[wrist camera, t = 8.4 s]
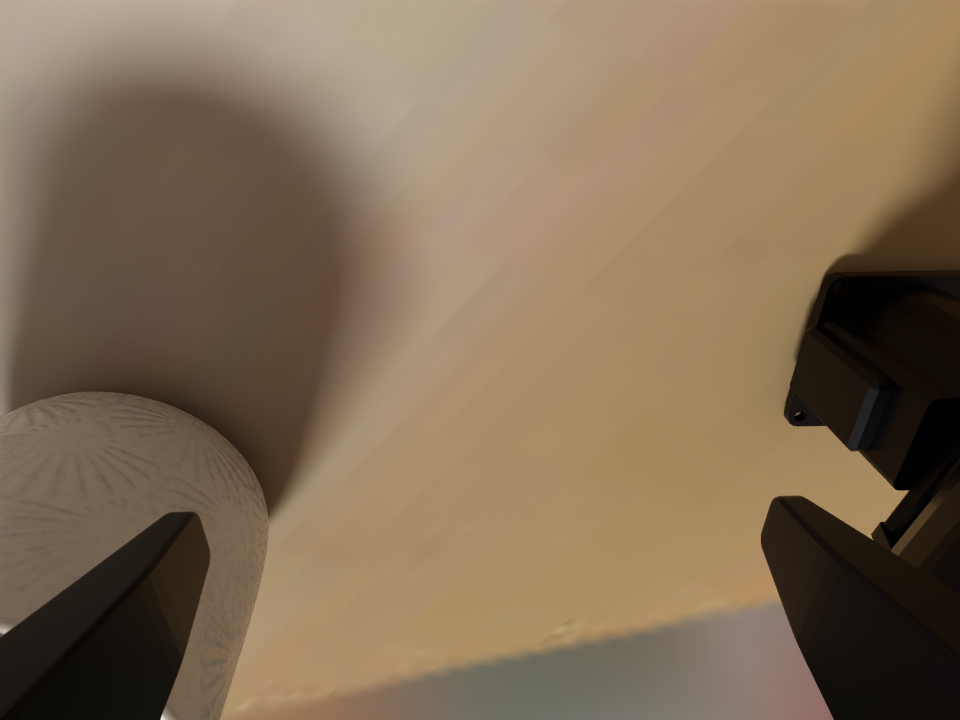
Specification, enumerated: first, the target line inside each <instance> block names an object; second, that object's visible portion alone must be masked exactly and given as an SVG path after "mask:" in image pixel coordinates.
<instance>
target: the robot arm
mask: <svg viewBox="0 0 960 720" xmlns="http://www.w3.org/2000/svg"><path fill="white" fill-rule="evenodd" d="M840 283H842V286H841V288H840V289H839V290H837V291H834V289H835V287H836V286H837V285H838V284H840ZM790 387H791V389H790V392H789V396H788V399H787V402H786V406H785V409H784V416H785V418H786V419H787V421H788V422H789V423H790V424H791V425H793V426H827V427H828V428H829V429H830V430H831V431H832V432H833V433H834V434H835V435H836V437H837V438H838V439H839V440H840V441H841V442H842V443H843V444H844V445H845V446H846V447H847V448H848V449H849V450H850V451H859V452H860V453H861V454H862V455H863V456H864V457H865V459H866V460H867V461H868V462H869V463H870V464H871V465H872V466H873V467H874V468H875V469H876V470H877V471H878V472H879V473H880V474H881V475H882V476H883V477H884V478H885V479H886V480H887V481H888V482H889V483H890V484H891V485H892V486H893V487H894V488H895V490H909V491H908V493H907V494H906V495H905V497H904V498H903V499H902V500H901V502H900V503H899V504H898V506H897V507H896V508H895V509H894V511H893V512H892V513H891V515H890V516H889V517H888V519H887V520H886V521H885V522H880V523H879V525H878V526H877V527H876V528H875V530H874V531H873V532H872V534H871V536H872V538H873V540H872V539H870V538H869V537H867V536H865V535H864V534H862V533H861V532H859V531H857V530H856V529H854V528H853V527H851V526H849V525H848V524H846V523H845V522H843V521H842V520H840V519H838V518H837V517H835V516H834V515H832V514H830V513H829V512H827V511H826V510H824V509H822V508H821V507H819V506H818V505H816V504H814V503H813V502H811V501H810V500H808V499H806V498H804V497H802V496H778V497H775V498H774V499H773V500H772V502H771V504H770V507H769V510H768V514H767V517H766V520H765V523H764V526H763V529H762V533H761V545H762V549H763V552H764V555H765V558H766V560H767V563H768V566H769V569H770V571H771V574H772V577H773V580H774V583H775V585H776V588H777V591H778V594H779V596H780V599H781V602H782V605H783V607H784V610H785V613H786V615H787V618H788V621H789V624H790V626H791V628H792V631H793V634H794V636H795V639H796V641H797V643H798V646H799V648H800V650H801V652H802V654H803V657H804V659H805V661H806V663H807V665H808V667H809V669H810V671H811V673H812V675H813V677H814V679H815V681H816V684H817V686H818V688H819V690H820V692H821V694H822V696H823V698H824V700H825V702H826V704H827V706H828V708H829V711H830V713H831V715H832V717H833V719H834V720H960V271H902V272H838V273H833V274H831V275H830V276H828V277H827V278H826V279H825V280H824V282H823V284H822V286H821V289H820V292H819V296H818V299H817V302H816V306H815V309H814V312H813V316H812V319H811V322H810V326H809V329H808V330H807V332H806V333H805V336H804V339H803V343H802V346H801V350H800V353H799V356H798V360H797V363H796V366H795V370H794V373H793V376H792V380H791V383H790ZM800 411H801V413H800V414H799V415H796V413H798V412H800ZM795 415H796V416H795ZM209 564H210V548H209V544H208V541H207V538H206V535H205V531H204V528H203V525H202V522H201V519H200V517H199V515H198V514H197V513H196V512H193V511H185V512H169V513H167V514H165V515H164V516H162V517H161V518H159V519H158V520H157V521H155V522H154V523H153V524H151V525H150V526H149V527H147V528H146V529H145V530H143V531H142V532H141V533H139V534H138V535H137V536H135V537H134V538H133V539H131V540H130V541H129V542H127V543H126V544H125V545H123V546H122V547H121V548H119V549H118V550H116V551H115V552H114V553H112V554H111V555H110V556H108V557H107V558H106V559H104V560H103V561H102V562H100V563H99V564H98V565H96V566H95V567H94V568H92V569H91V570H90V571H88V572H87V573H86V574H84V575H83V576H82V577H80V578H79V579H78V580H76V581H75V582H73V583H72V584H71V585H69V586H68V587H67V588H65V589H64V590H63V591H61V592H60V593H59V594H57V595H56V596H55V597H53V598H52V599H51V600H49V601H48V602H47V603H45V604H44V605H43V606H41V607H40V608H39V609H37V610H36V611H35V612H33V613H32V614H31V615H29V616H28V617H26V618H25V619H24V620H22V621H21V622H20V623H18V624H17V625H16V626H14V627H13V628H12V629H10V630H9V631H8V632H6V633H5V634H4V635H2V636H1V637H0V720H160V719H161V716H162V714H163V711H164V709H165V706H166V704H167V701H168V698H169V696H170V693H171V691H172V688H173V686H174V683H175V681H176V678H177V675H178V672H179V670H180V667H181V664H182V662H183V658H184V655H185V652H186V648H187V645H188V641H189V638H190V634H191V630H192V627H193V623H194V620H195V616H196V612H197V609H198V605H199V601H200V598H201V594H202V590H203V587H204V583H205V579H206V576H207V572H208V568H209Z"/></svg>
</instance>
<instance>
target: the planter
mask: <svg viewBox="0 0 960 720" xmlns="http://www.w3.org/2000/svg"><path fill="white" fill-rule="evenodd" d="M185 511H193V512H196V513H197V514H198V515H199V517H200V519H201V522H202V525H203V528H204V531H205V535H206V538H207V541H208V544H209V548H210V564H209V568H208V572H207V576H206V579H205V583H204V587H203V590H202V594H201V598H200V601H199V605H198V609H197V612H196V616H195V620H194V623H193V627H192V630H191V634H190V638H189V641H188V645H187V648H186V652H185V655H184V658H183V662H182V664H181V667H180V670H179V672H178V675H177V678H176V681H175V683H174V686H173V688H172V691H171V693H170V696H169V698H168V701H167V704H166V706H165V709H164V711H163V714H162V716H161V719H160V720H220V717H221V714H222V711H223V708H224V704H225V701H226V698H227V695H228V692H229V689H230V685H231V682H232V679H233V676H234V672H235V669H236V666H237V663H238V659H239V656H240V653H241V650H242V646H243V643H244V640H245V637H246V633H247V630H248V627H249V623H250V620H251V616H252V612H253V609H254V605H255V601H256V598H257V594H258V591H259V586H260V582H261V577H262V573H263V568H264V562H265V557H266V551H267V545H268V513H267V506H266V502H265V498H264V494H263V491H262V488H261V486H260V484H259V481H258V479H257V477H256V476H255V474H254V472H253V470H252V469H251V467H250V466H249V464H248V463H247V462H246V460H245V459H244V457H243V456H242V455H241V454H240V453H239V451H238V450H237V449H236V448H235V447H234V446H233V445H232V444H231V443H230V442H229V441H228V440H227V439H226V438H225V437H223V436H222V435H221V434H220V433H218V432H217V431H216V430H215V429H213V428H212V427H210V426H209V425H207V424H206V423H204V422H203V421H201V420H199V419H198V418H196V417H194V416H192V415H191V414H189V413H187V412H184V411H182V410H180V409H178V408H176V407H173V406H171V405H168V404H165V403H163V402H160V401H156V400H153V399H149V398H145V397H141V396H136V395H131V394H123V393H115V392H96V391H95V392H77V393H70V394H63V395H58V396H54V397H50V398H45V399H41V400H39V401H36V402H33V403H30V404H28V405H25V406H22V407H20V408H18V409H16V410H13V411H11V412H9V413H7V414H5V415H3V416H1V417H0V637H1V636H2V635H4V634H5V633H6V632H8V631H9V630H10V629H12V628H13V627H14V626H16V625H17V624H18V623H20V622H21V621H22V620H24V619H25V618H26V617H28V616H29V615H31V614H32V613H33V612H35V611H36V610H37V609H39V608H40V607H41V606H43V605H44V604H45V603H47V602H48V601H49V600H51V599H52V598H53V597H55V596H56V595H57V594H59V593H60V592H61V591H63V590H64V589H65V588H67V587H68V586H69V585H71V584H72V583H73V582H75V581H76V580H78V579H79V578H80V577H82V576H83V575H84V574H86V573H87V572H88V571H90V570H91V569H92V568H94V567H95V566H96V565H98V564H99V563H100V562H102V561H103V560H104V559H106V558H107V557H108V556H110V555H111V554H112V553H114V552H115V551H116V550H118V549H119V548H121V547H122V546H123V545H125V544H126V543H127V542H129V541H130V540H131V539H133V538H134V537H135V536H137V535H138V534H139V533H141V532H142V531H143V530H145V529H146V528H147V527H149V526H150V525H151V524H153V523H154V522H155V521H157V520H158V519H159V518H161V517H162V516H164V515H165V514H167V513H169V512H185Z"/></svg>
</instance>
